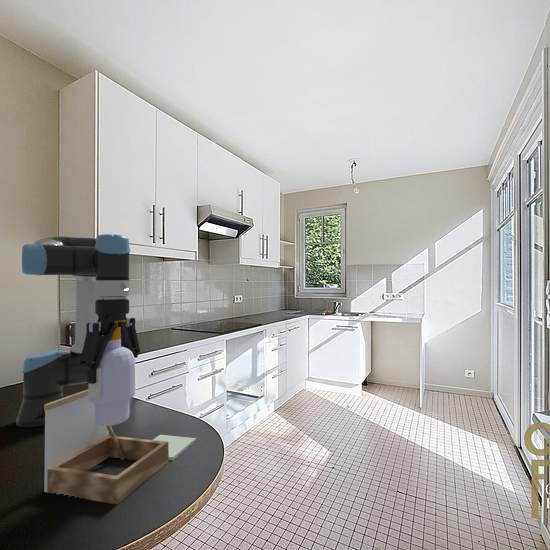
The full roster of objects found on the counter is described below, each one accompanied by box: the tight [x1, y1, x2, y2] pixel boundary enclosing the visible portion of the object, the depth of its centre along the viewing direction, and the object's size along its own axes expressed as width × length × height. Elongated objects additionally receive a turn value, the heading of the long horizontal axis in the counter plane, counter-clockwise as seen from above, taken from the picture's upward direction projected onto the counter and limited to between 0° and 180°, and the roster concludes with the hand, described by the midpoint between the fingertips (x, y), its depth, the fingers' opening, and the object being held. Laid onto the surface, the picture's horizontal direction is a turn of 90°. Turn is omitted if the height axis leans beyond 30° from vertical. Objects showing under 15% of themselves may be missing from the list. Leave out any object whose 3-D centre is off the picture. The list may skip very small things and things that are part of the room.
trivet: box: [152, 434, 197, 461], centre depth 97 cm, size 12×12×1 cm
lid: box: [43, 388, 110, 493], centre depth 86 cm, size 1×19×19 cm, turn 164°
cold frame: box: [47, 426, 170, 505], centre depth 83 cm, size 19×18×12 cm
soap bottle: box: [87, 320, 136, 427], centre depth 84 cm, size 10×10×24 cm
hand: (112, 390), depth 84 cm, fingers closed on soap bottle, 10 cm apart
